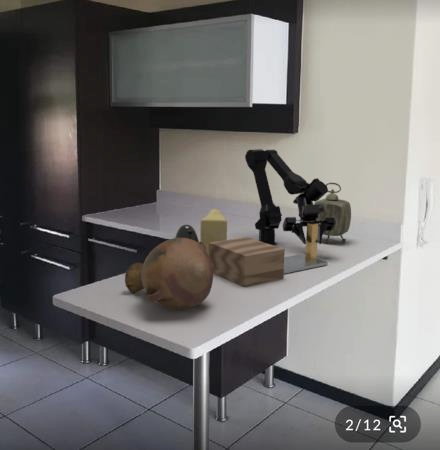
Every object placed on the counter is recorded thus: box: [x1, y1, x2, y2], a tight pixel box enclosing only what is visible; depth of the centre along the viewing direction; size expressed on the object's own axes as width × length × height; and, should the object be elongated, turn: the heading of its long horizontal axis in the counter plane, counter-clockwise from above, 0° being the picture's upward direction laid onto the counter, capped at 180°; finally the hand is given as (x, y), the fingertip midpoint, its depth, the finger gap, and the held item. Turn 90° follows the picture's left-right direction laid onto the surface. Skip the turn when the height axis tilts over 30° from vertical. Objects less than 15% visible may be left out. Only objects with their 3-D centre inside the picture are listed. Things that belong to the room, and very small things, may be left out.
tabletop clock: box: [313, 182, 352, 244], centre depth 231 cm, size 14×9×25 cm, turn 61°
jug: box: [124, 237, 214, 310], centre depth 158 cm, size 20×20×30 cm
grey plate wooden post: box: [284, 222, 329, 275], centre depth 195 cm, size 26×13×14 cm, turn 125°
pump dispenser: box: [174, 223, 200, 242], centre depth 192 cm, size 10×10×15 cm
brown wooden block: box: [209, 236, 285, 288], centre depth 185 cm, size 20×16×10 cm
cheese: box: [199, 208, 228, 255], centre depth 215 cm, size 22×10×15 cm, turn 179°
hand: (312, 243), depth 200 cm, fingers open, 5 cm apart
